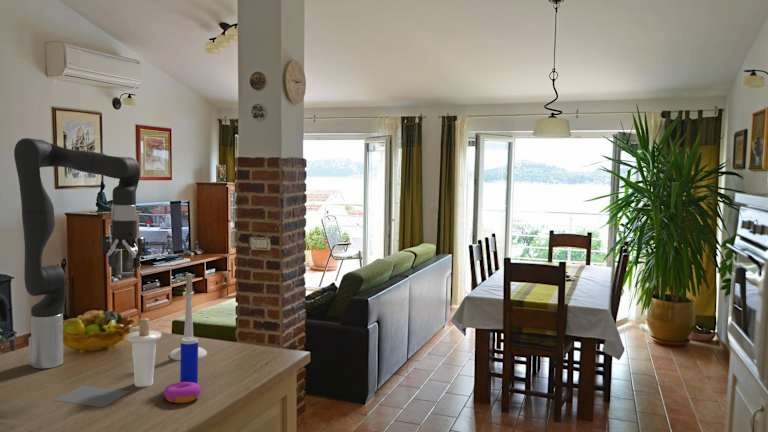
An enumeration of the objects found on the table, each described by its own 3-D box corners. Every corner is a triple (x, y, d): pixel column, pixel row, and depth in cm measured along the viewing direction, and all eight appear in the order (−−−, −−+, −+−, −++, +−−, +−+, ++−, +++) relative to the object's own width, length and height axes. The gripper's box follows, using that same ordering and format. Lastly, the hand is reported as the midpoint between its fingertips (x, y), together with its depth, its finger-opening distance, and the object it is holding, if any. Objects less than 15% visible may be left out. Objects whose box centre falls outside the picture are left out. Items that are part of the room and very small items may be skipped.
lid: (119, 341, 180) (119, 321, 180) (139, 332, 190) (139, 313, 190) (149, 344, 178) (149, 324, 178) (167, 335, 188) (168, 316, 188)
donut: (203, 392, 182) (203, 378, 181) (196, 406, 172) (197, 390, 171) (168, 393, 181) (168, 378, 180) (159, 406, 171) (159, 390, 170)
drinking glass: (147, 390, 181) (147, 342, 180) (127, 388, 183) (127, 340, 182) (160, 382, 188) (160, 336, 187) (140, 380, 189) (140, 334, 188)
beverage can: (201, 384, 188) (201, 337, 187) (190, 389, 183) (191, 341, 182) (187, 381, 190) (187, 335, 189) (176, 387, 185) (177, 339, 184)
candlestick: (200, 361, 210) (201, 276, 207) (163, 359, 210) (164, 275, 208) (211, 350, 223) (212, 270, 220) (177, 348, 223) (177, 269, 220)
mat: (53, 402, 170) (53, 400, 170) (83, 387, 182) (83, 385, 182) (102, 409, 167) (102, 407, 167) (129, 393, 179) (129, 391, 179)
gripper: (97, 218, 193) (97, 267, 194) (136, 220, 190) (136, 271, 191) (112, 216, 200) (112, 264, 202) (150, 218, 197) (150, 267, 199)
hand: (124, 267), depth 197 cm, fingers open, 8 cm apart
